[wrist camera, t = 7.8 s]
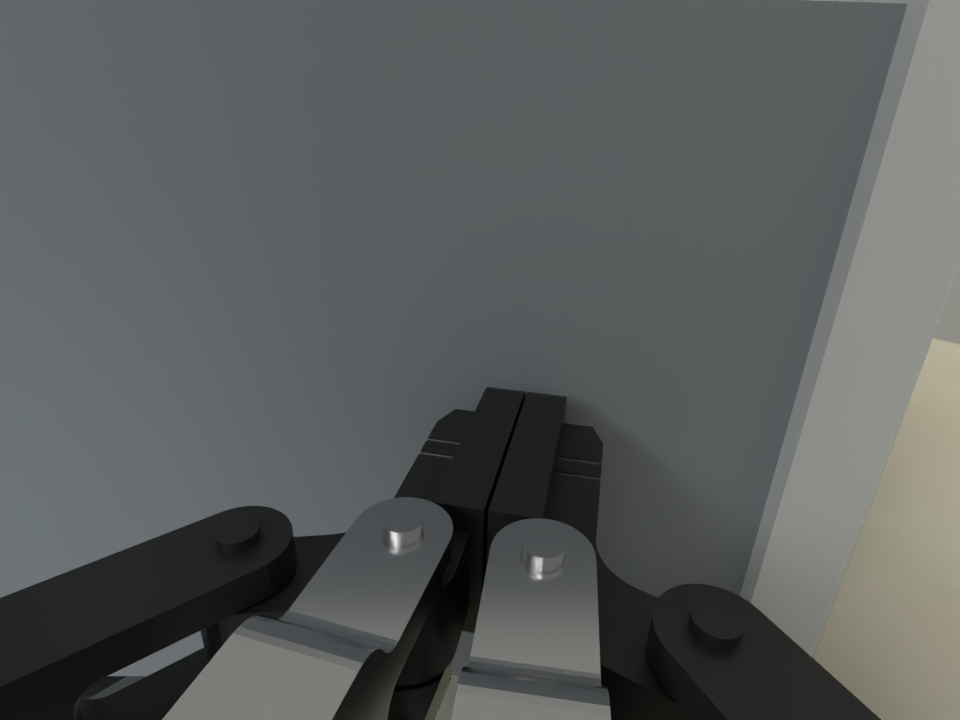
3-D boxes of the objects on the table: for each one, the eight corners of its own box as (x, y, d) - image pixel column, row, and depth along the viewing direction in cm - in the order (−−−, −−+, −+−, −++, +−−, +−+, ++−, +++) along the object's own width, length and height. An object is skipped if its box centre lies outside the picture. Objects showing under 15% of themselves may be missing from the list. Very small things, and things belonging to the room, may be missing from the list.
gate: (16, 694, 14) (-352, -117, 7) (77, 609, 16) (-170, -77, 10) (800, 690, 14) (1084, -66, 8) (756, 608, 17) (952, -39, 10)
